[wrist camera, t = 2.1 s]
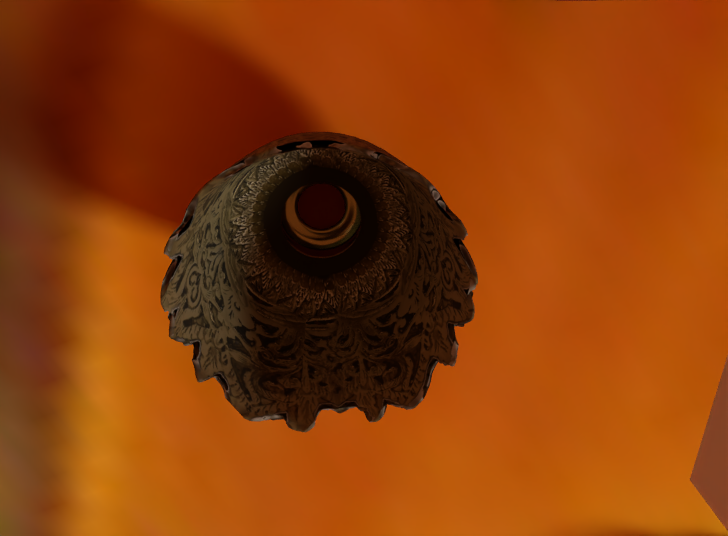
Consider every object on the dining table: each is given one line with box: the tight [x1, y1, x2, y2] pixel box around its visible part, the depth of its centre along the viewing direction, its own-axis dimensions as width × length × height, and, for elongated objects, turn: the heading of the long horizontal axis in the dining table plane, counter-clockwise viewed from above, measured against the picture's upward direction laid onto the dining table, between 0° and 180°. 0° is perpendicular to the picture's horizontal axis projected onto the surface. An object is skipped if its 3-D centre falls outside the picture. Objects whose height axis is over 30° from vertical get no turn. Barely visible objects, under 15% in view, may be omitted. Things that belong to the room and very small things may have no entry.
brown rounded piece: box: [161, 132, 478, 432], centre depth 19 cm, size 8×7×8 cm
